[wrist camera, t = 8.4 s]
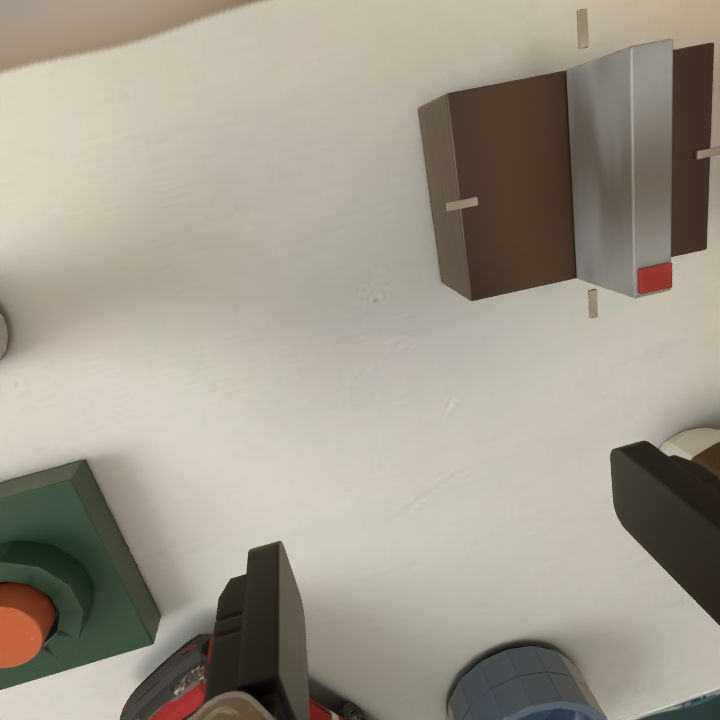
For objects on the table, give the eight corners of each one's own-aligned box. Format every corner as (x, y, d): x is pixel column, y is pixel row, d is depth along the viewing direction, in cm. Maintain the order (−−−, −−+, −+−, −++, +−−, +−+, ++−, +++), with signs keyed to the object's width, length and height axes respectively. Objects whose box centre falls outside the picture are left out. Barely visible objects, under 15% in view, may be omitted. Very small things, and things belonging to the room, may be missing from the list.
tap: (565, 70, 23) (634, 44, 18) (601, 63, 23) (679, 35, 18) (575, 279, 26) (637, 300, 21) (607, 271, 26) (675, 291, 21)
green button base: (-93, 508, 30) (-147, 555, 26) (85, 458, 30) (57, 498, 27) (6, 662, 34) (-28, 723, 30) (161, 616, 35) (147, 670, 31)
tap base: (435, 320, 31) (464, 347, 26) (399, 63, 26) (425, 38, 21) (652, 272, 32) (719, 289, 27) (652, 16, 27) (733, -19, 22)
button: (-40, 594, 28) (-60, 620, 26) (36, 572, 28) (21, 597, 27) (-4, 650, 29) (-21, 677, 28) (68, 628, 30) (56, 655, 28)
